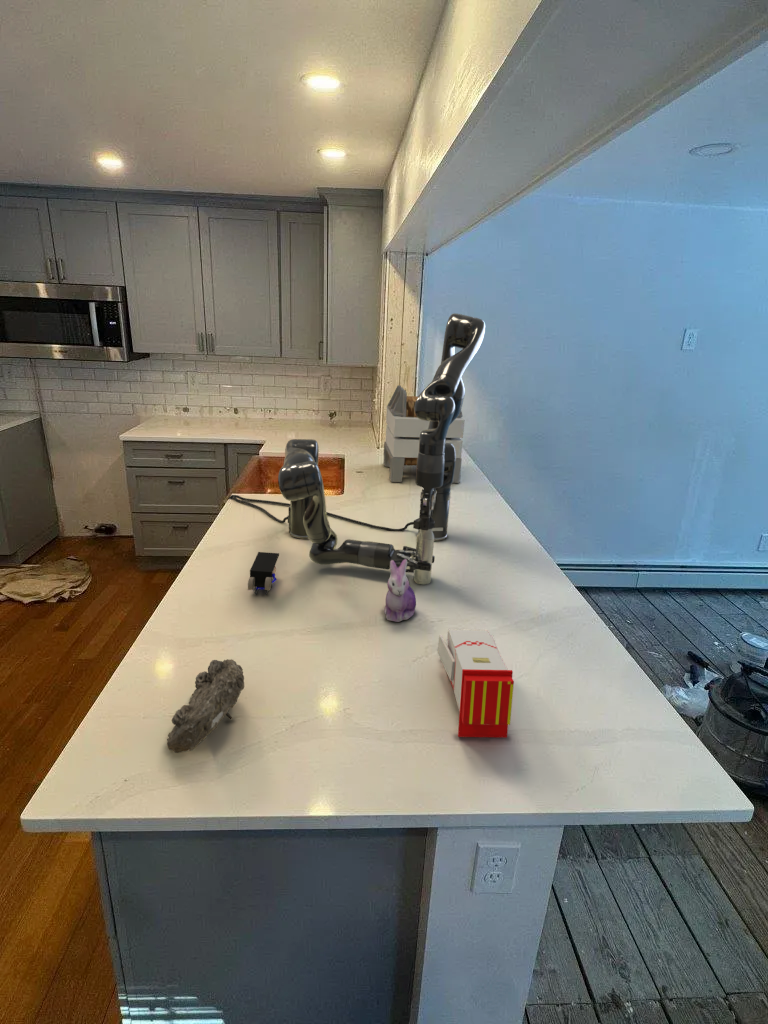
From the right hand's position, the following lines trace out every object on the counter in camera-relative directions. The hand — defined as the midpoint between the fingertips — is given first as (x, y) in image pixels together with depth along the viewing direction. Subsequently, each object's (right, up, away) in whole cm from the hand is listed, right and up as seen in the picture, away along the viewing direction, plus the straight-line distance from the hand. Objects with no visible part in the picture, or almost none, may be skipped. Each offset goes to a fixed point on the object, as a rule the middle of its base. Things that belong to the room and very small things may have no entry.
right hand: (426, 525), depth 160 cm
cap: (0, +1, 0) cm, 1 cm away
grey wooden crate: (+5, +23, +115) cm, 117 cm away
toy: (+6, -34, -42) cm, 54 cm away
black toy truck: (-45, -17, -2) cm, 49 cm away
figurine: (-8, -23, -13) cm, 27 cm away
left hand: (+2, -11, +3) cm, 12 cm away
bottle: (-1, -16, +6) cm, 17 cm away
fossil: (-45, -35, -52) cm, 77 cm away
